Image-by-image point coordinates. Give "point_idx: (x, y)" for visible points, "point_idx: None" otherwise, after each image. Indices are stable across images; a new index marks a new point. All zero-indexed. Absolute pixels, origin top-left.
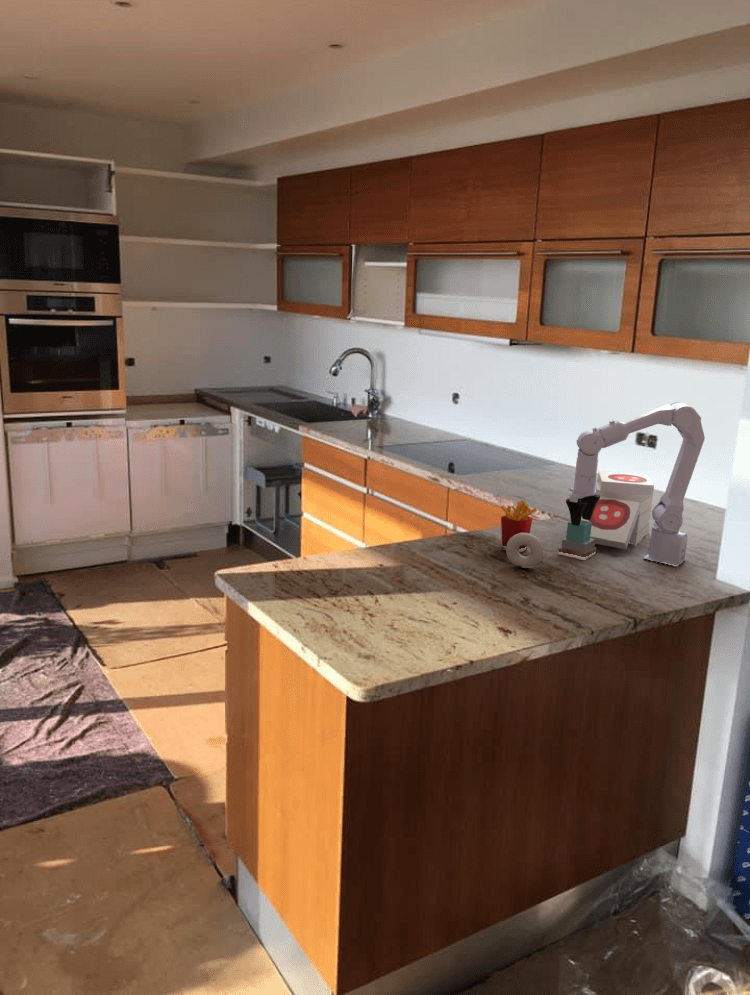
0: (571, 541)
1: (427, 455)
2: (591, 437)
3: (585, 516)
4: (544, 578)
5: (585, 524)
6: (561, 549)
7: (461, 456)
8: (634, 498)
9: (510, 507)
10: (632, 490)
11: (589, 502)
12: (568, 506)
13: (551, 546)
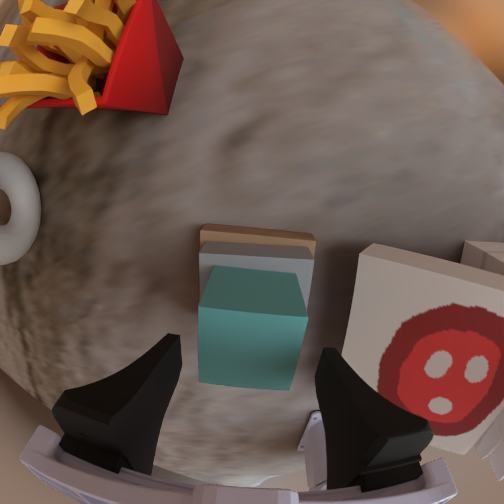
0: (200, 292)
1: None
2: None
3: (321, 371)
4: (27, 265)
5: (224, 381)
6: (200, 242)
7: None
8: (489, 441)
9: (25, 15)
10: None
11: (338, 448)
12: (89, 388)
13: (288, 169)
